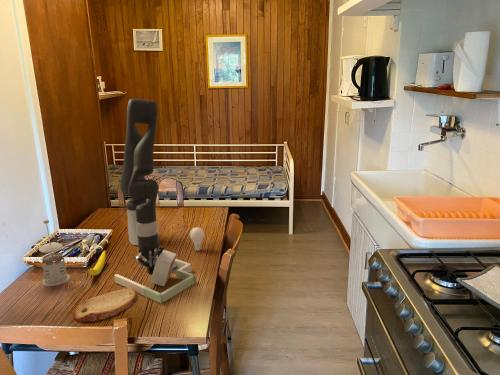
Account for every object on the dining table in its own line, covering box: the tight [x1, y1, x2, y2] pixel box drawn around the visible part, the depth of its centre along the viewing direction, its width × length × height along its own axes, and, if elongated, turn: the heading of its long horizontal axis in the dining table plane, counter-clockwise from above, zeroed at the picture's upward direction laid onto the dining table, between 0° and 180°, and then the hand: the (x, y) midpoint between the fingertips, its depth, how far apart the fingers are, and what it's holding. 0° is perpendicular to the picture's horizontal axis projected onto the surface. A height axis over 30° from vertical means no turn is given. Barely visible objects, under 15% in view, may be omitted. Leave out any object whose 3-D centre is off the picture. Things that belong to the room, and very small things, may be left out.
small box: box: [150, 249, 177, 287], centre depth 145 cm, size 8×6×10 cm
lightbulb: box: [189, 226, 205, 252], centre depth 172 cm, size 6×6×11 cm
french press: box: [38, 219, 71, 287], centre depth 148 cm, size 10×12×25 cm
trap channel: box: [113, 257, 197, 304], centre depth 149 cm, size 26×23×3 cm
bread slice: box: [73, 288, 138, 324], centre depth 131 cm, size 18×18×4 cm
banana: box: [87, 250, 107, 276], centre depth 155 cm, size 3×19×6 cm, turn 3°
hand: (151, 273), depth 147 cm, fingers closed
